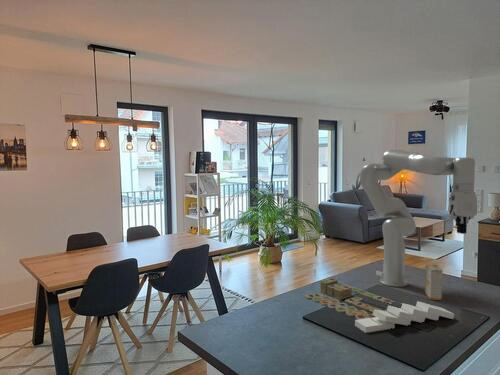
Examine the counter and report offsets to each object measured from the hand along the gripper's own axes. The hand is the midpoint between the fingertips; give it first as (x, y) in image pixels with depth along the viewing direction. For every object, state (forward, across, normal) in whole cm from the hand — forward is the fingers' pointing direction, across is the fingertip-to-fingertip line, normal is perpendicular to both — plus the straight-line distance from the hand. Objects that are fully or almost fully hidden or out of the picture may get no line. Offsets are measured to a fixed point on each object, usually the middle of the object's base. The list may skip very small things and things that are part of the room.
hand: (461, 232), depth 150 cm
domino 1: (+28, -41, -10) cm, 51 cm away
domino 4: (+28, -22, -10) cm, 37 cm away
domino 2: (+28, -35, -10) cm, 46 cm away
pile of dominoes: (+30, -41, +12) cm, 52 cm away
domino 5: (+28, -15, -10) cm, 33 cm away
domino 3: (+28, -28, -10) cm, 41 cm away
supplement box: (+29, -5, +9) cm, 31 cm away
